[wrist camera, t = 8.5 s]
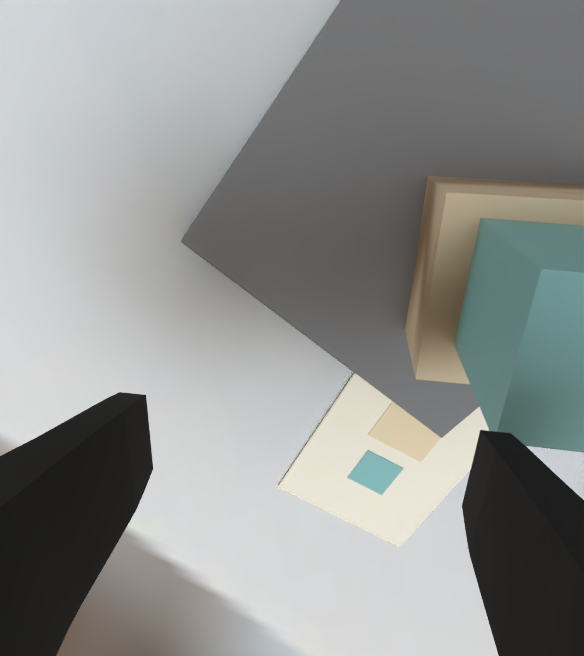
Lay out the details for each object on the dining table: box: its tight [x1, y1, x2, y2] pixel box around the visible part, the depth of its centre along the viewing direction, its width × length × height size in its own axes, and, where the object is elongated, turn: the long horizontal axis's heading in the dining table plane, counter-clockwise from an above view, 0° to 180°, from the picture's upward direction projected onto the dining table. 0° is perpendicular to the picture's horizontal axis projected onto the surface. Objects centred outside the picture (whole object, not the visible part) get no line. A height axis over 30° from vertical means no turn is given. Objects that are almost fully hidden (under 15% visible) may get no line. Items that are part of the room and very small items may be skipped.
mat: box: [181, 0, 584, 438], centre depth 17 cm, size 20×14×1 cm
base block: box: [405, 176, 584, 384], centre depth 16 cm, size 6×6×4 cm
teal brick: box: [454, 218, 584, 452], centre depth 12 cm, size 4×4×5 cm
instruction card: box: [278, 373, 489, 547], centre depth 22 cm, size 10×7×1 cm
